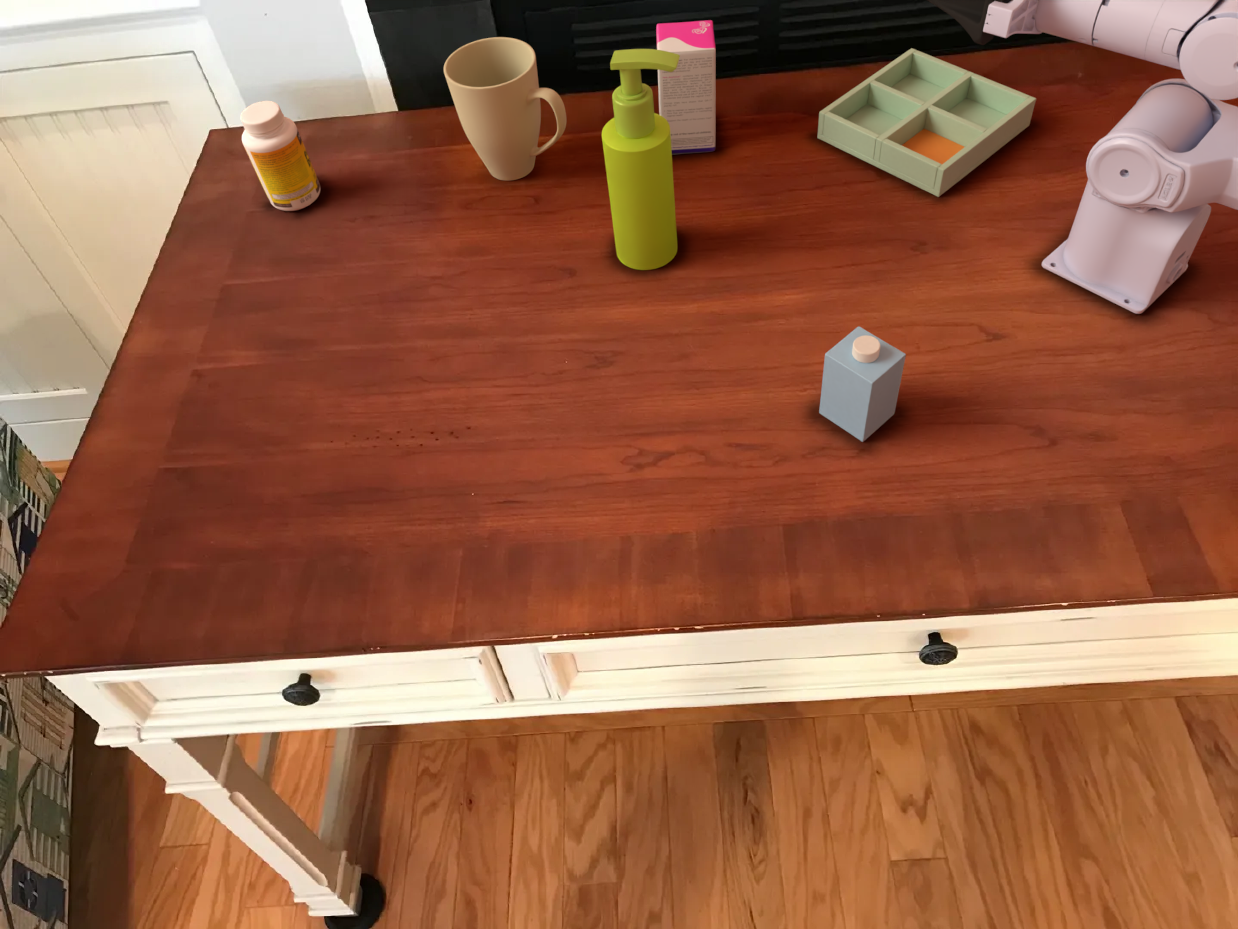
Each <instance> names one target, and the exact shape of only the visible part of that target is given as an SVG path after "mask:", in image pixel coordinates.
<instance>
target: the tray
mask: <svg viewBox="0 0 1238 929" xmlns="http://www.w3.org/2000/svg"><path fill="white" fill-rule="evenodd" d="M1036 101H1037V98H1036V97H1034V96H1033V95H1032V96H1031V95H1029V94H1026V93H1024V92H1022V91H1020V90H1018V89H1017V90H1016V89H1014V88H1012V87H1010V86H1007V85H1005V84H1001V83H999V82H997V81H995V80H992V79H989V78H987V77H984V76H983V75H980V74H977V73H974V72H972V71H969V70H967V69H964V68H962V67H960V66H957V65H955V64H952V63H950V62H947V61H945V60H942V59H940V58H937V57H935V56H932V55H930V54H928V53H925V52H923V51H920V50H917V49H916V48H912V47H911V48H910V49H908V50H906V51H905V52H904V53H902V54H901V55H899V56H898V57H897V58H895V59H894V60H892V61H890V62H889V63H888V64H887V65H884V67H881V69H879V70H878V71H876V72H875V73H874V74H872V75H871V76H869V77H867V78H866V79H865V80H863V81H862V82H861V83H859V84H857V85H856V86H855V87H853V88H851V89H850V90H849V91H847V92H846V93H844V94H843V95H841V96H839V97H838V98H837V99H835V100H834V101H833V102H832V103H830V104H829V105H827V106H826V107H824V108H822V109H821V110H820V111H819V113H818V124H817V136H816V137H817V139H818V140H820V141H822V142H824V143H826V144H829V145H830V146H833V147H835V148H837V149H839V150H841V151H842V152H845V153H847V154H849V155H851V156H853V157H855V158H857V159H859V160H861V161H863V162H865V163H868V164H869V165H872V166H874V167H875V168H878V169H880V170H881V171H883V172H886V173H888V174H890V175H892V176H894V177H896V178H898V179H901V180H903V181H904V182H906V183H909V184H911V185H912V186H915V187H917V188H919V189H921V190H923V191H925V192H927V193H929V194H931V195H933V196H935V197H937V198H939V197H941V196H942V195H943V194H945V193H946V192H947V191H948V190H950V189H951V188H952V187H953V186H955V185H956V184H957V183H959V182H960V181H961V180H962V179H964V178H965V177H966V176H968V175H969V174H970V173H971V172H972V171H974V170H975V169H976V168H977V167H979V166H980V165H982V163H984V162H985V161H986V160H987V159H989V158H990V157H991V156H992V155H994V154H995V153H996V152H998V151H999V150H1000V149H1002V148H1003V147H1004V146H1005V145H1006V144H1008V143H1009V142H1010V141H1012V140H1013V139H1014V138H1015V137H1017V136H1018V135H1019V134H1020V133H1022V132H1023V131H1025V129H1027V128H1028V127H1030V124H1031V120H1032V116H1033V112H1034V110H1035V109H1034V108H1035V105H1036V103H1037V102H1036Z"/></svg>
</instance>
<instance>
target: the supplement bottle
mask: <svg viewBox="0 0 1238 929" xmlns="http://www.w3.org/2000/svg"><path fill="white" fill-rule="evenodd" d="M281 109H282V108H281V107H280V105H279V104H278V103H277V102H275V101H271V100H262V101H256V102H254V103H251V104H250V105H248V106H247V107H245V108H244V109H243V110H242V111H241V113H240V122H241V123H242V126H243V132H242V134H241V143H242V145H243V148H244V150H245V152H246V154H247V156H248V158H249V161H250V163H251V166H252V167H253V169H254V171H255V173H256V174H255V175H256V176H257V178H258V180H259V183H260V184H261V187H262V188H263V191H264V193H265V195H266V197H267V199H268V201H269V203H270V204H271V205H272V207H274V208H275V209H277V210H280V211H283V212H284V211H285V212H295V211H299V210H303V209H305V208H306V207H308V206H311V204H313V203H314V202H316V200H318V198H319V196H320V194H321V189H322V188H321V184H320V183H321V182H320V181H319V179H318V178H319V177H318V176H317V173H316V171H315V169H314V166H313V164H312V161H311V159H310V156H309V154H308V152H307V149H306V146H305V144H304V141H303V139H302V137H301V134H300V132H299V130H298V127H297V125H296V123H295V121H293V120H292V119H291V118H289V117H287V116H285V115H284V112H283V111H282V110H281Z"/></svg>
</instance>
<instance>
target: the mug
mask: <svg viewBox="0 0 1238 929" xmlns="http://www.w3.org/2000/svg"><path fill="white" fill-rule="evenodd" d="M537 65H538V64H537V55H536V52H535V50H534V49H533V47H532V46H531V45H530V44H529V43H527V42H525V41H523V40H521V39H518V38H513V37H506V36H495V37H488V38H487V37H486V38H481V39H477V40H474V41H472V42H468V43H466V44H464V45H462V46H460V47H459V48H457V49H456V50H454V51H453V52H452V53H451V54H450V55H449V56H448V57H447V59H446V60H445V62H444V65H443V74H444V77H445V81H446V83H447V86H448V89H449V92H450V95H451V99H452V101H453V104H454V107H455V110H456V113H457V116H458V119H459V122H460V125H461V127H462V129H463V131H464V133H465V136H466V137H467V139H468V141H469V142H470V144H471V146H472V148H473V149H474V151H475V152H476V154H477V155H478V157H479V159H480V160H481V161H482V162H483V164H484V166H485V167H486V169H487V170H488V172H489V174H490V176H492V177H493V178H494V179H497V180H500V181H506V182H507V181H509V182H510V181H517V180H520V179H522V178H525V177H527V176H528V175H529V174H530V173H531V172H533V170H534V167H535V163H536V156H539V155H541V154H542V153H544V152H545V151H547V150H548V149H550V148H551V147H552V146H553V145H555V144H556V143H557V142H558V141H559V140H560V138H561V137H562V136H563V134H564V133H565V131H566V128H567V112H566V107H565V104H564V101H563V99H562V97H561V96H560V94H559V93H558V92H557V91H555V90H554V89H552V88H549V87H540V84H539V76H538V66H537ZM541 99H543V100H545V101H546V102H547V103H548V104H549V105H550V107H551V110H552V111H553V112H554V113H553V114H554V117H555V120H556V132H555V135H554V136H553V137H552V138H550V140H549V141H547V142H546V143H544V144H543V145H542V146H540V147H538V143H539V138H540V132H541V121H542V119H541V118H542V106H541Z"/></svg>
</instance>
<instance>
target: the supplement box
mask: <svg viewBox="0 0 1238 929" xmlns="http://www.w3.org/2000/svg"><path fill="white" fill-rule="evenodd" d="M655 28H656V29H655V31H656V32H655V33H656V37H655V38H656V50H662V51H667V52H671V53H675V54H678V55H680V57H679V61H678V65H677V68H676V69H675V70H674V71H673V72H668V71H663V70H657V86H658V88H657V89H658V91H657V92H658V114H659V115H661V116H662V117H664V118H665V119H666V120H667V121H668V123H669V125H670V134H671V150H672V156H673V155H684V154H700V153H711V152H715V151H716V133H717V132H716V127H717V126H716V124H717V122H716V120H717V118H716V110H717V109H716V107H717V106H716V101H717V97H716V94H717V93H716V91H717V90H716V89H717V88H716V85H717V84H716V76H717V74H716V67H717V66H716V64H717V63H716V62H717V61H716V57H717V56H716V55H717V54H716V48H717V47H716V41H715V40H716V39H715V30H714V21H713V20H711V19H708V20H694V21H682V22H662V23H660V22H659V23H657V24H656V27H655Z"/></svg>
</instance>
